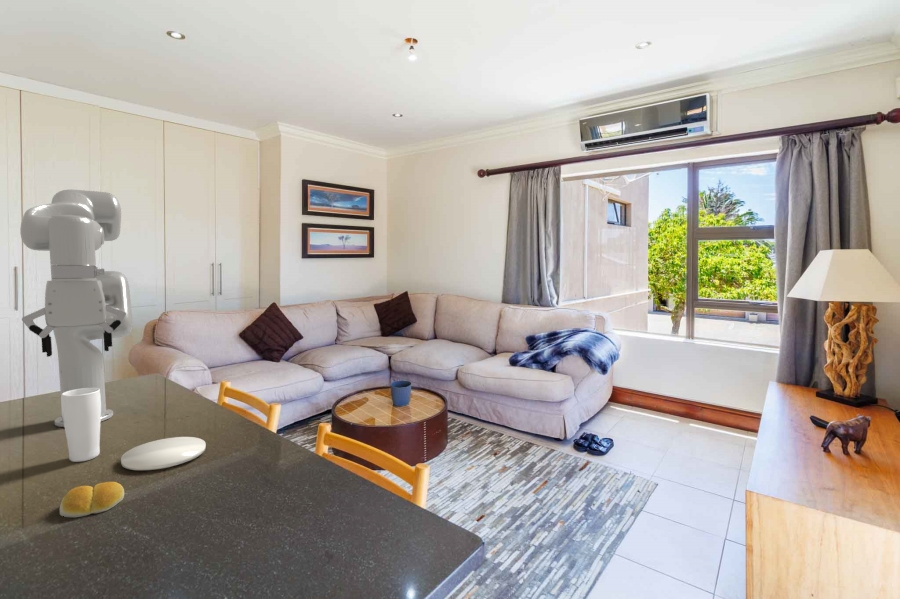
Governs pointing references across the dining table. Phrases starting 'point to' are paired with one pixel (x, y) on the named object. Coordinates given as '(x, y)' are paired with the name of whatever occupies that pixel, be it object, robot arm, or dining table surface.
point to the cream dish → (163, 453)
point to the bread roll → (91, 499)
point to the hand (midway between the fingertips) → (78, 352)
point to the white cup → (82, 422)
